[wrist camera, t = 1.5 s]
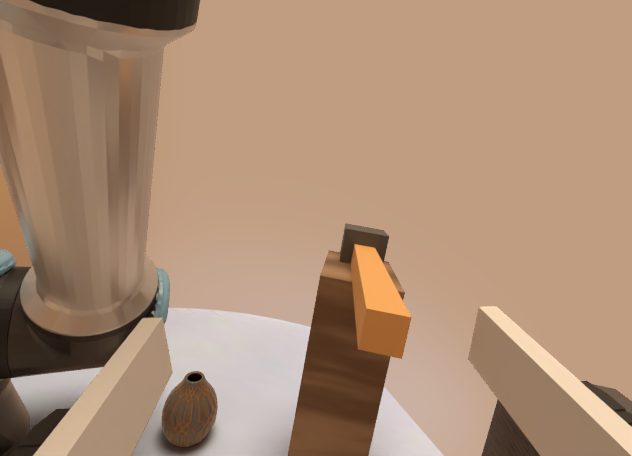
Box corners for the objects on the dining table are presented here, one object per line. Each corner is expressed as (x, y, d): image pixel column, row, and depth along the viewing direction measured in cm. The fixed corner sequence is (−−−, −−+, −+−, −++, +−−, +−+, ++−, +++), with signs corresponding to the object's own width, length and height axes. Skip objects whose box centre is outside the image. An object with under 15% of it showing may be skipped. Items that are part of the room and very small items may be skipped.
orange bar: (425, 363, 16) (443, 293, 16) (334, 344, 17) (347, 275, 16) (377, 259, 40) (383, 230, 39) (340, 252, 40) (345, 223, 40)
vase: (172, 412, 44) (178, 358, 43) (219, 417, 45) (226, 364, 44) (149, 454, 38) (156, 391, 36) (205, 459, 38) (213, 398, 37)
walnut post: (348, 541, 32) (404, 292, 28) (276, 521, 33) (320, 275, 29) (349, 446, 44) (388, 261, 40) (295, 433, 44) (329, 250, 40)
